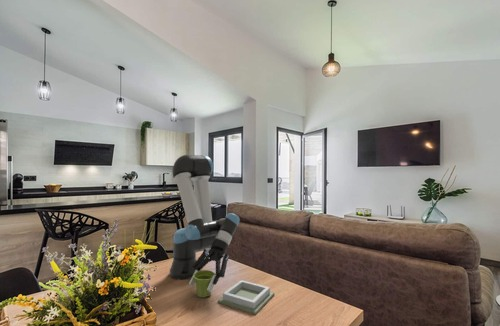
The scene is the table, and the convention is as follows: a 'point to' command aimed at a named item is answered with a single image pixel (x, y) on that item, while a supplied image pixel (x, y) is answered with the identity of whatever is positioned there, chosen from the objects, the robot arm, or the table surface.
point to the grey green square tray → (247, 296)
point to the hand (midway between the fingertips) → (199, 288)
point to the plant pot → (203, 282)
